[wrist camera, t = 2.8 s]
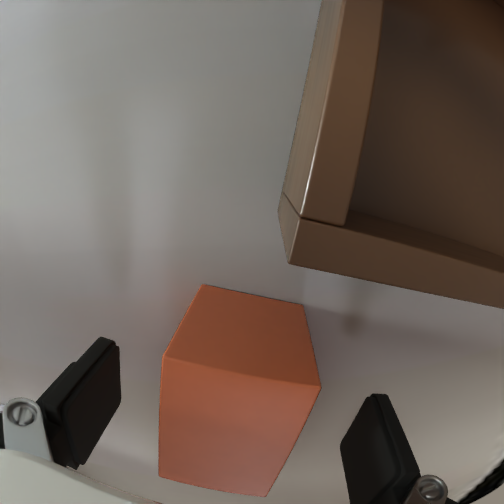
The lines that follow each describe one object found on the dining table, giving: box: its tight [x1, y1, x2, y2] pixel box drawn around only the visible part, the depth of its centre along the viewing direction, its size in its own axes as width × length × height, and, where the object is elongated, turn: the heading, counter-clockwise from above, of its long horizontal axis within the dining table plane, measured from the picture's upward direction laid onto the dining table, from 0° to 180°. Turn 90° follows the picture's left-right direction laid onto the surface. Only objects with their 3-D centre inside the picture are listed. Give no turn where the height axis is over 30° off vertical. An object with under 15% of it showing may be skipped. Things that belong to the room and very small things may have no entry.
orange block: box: [159, 284, 321, 497], centre depth 10 cm, size 6×4×5 cm, turn 168°
